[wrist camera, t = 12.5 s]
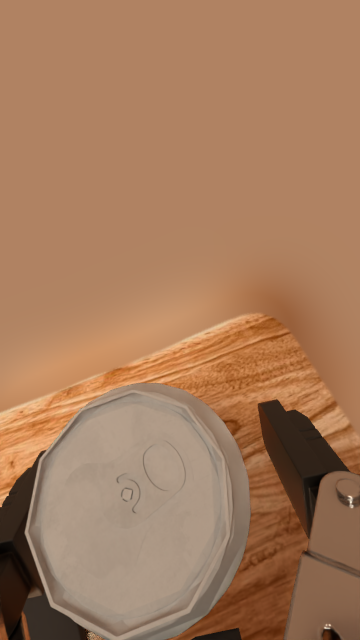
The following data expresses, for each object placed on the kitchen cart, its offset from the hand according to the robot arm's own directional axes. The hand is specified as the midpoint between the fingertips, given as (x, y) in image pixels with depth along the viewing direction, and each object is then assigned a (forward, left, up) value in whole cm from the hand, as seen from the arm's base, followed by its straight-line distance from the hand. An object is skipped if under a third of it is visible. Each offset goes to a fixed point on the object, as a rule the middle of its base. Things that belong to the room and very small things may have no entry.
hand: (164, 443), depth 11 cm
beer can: (-1, +1, -6) cm, 6 cm away
